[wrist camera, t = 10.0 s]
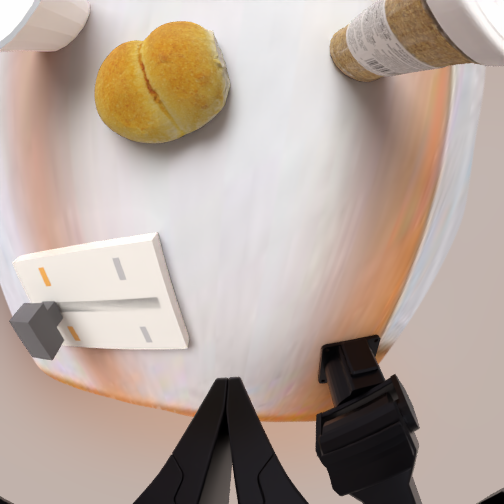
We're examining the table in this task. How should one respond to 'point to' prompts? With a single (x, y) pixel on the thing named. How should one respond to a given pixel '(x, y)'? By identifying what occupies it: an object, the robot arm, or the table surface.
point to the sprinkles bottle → (419, 37)
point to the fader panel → (108, 293)
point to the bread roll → (163, 84)
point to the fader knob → (39, 328)
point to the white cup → (40, 24)
